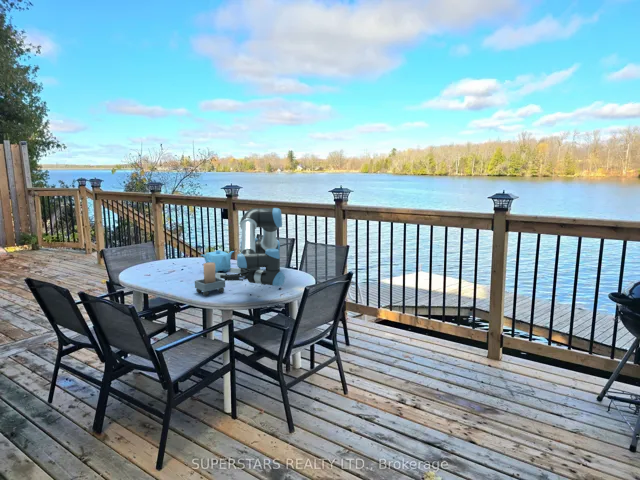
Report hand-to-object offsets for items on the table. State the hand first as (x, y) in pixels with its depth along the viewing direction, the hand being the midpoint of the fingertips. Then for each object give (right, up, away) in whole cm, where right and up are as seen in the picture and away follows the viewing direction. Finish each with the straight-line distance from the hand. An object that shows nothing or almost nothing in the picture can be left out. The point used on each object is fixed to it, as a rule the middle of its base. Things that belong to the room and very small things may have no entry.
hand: (223, 272), depth 221 cm
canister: (-9, -7, +5) cm, 12 cm away
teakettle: (-17, -4, +56) cm, 58 cm away
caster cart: (-9, -12, +5) cm, 16 cm away
